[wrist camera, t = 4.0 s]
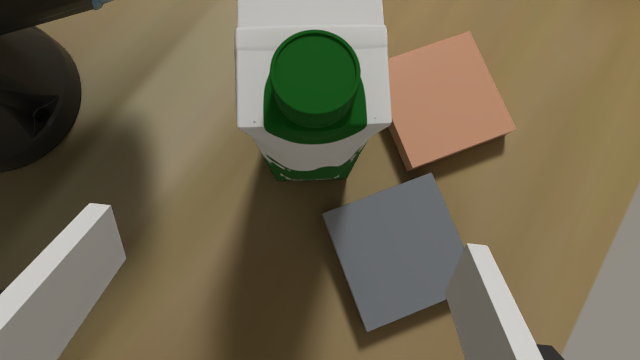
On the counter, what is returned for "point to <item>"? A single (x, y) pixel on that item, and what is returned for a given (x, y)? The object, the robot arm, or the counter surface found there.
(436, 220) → the slate tile
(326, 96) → the soya milk
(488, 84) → the terracotta tile
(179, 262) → the counter surface
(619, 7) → the counter surface
